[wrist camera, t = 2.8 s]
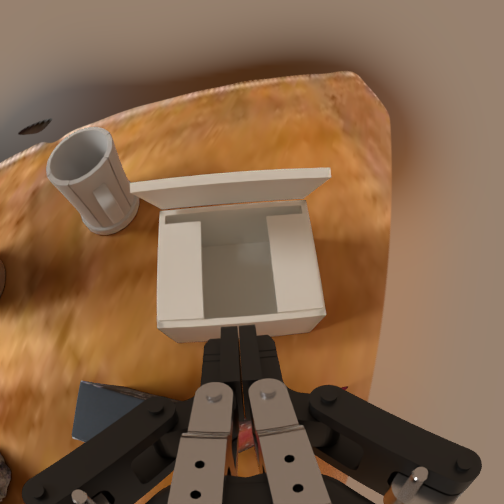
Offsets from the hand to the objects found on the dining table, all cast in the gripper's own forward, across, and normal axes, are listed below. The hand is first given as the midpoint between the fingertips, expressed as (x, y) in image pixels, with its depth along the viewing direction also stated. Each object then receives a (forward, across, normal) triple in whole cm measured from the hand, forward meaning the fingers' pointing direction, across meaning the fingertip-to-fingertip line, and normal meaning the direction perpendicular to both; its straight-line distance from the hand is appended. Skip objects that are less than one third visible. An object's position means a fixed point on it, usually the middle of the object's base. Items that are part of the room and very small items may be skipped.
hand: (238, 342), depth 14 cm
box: (+12, +11, +19) cm, 25 cm away
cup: (+31, +16, 0) cm, 35 cm away
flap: (+20, 0, -2) cm, 20 cm away
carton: (+22, 0, +9) cm, 24 cm away
